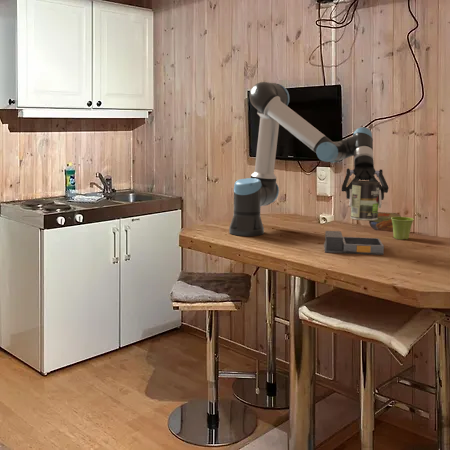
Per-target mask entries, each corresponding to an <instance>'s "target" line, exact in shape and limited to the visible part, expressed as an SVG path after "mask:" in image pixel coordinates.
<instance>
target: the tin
mask: <svg viewBox="0 0 450 450" xmlns="http://www.w3.org/2000/svg"><path fill="white" fill-rule="evenodd" d="M391 217H402V216H401V215H400V214H399V213H396V212H385V211H384V212H381V211H378V219H377V220H373V221H368V223H369V225H370V227H371V229H374V230H375V231H384V232H385V231H386V232H393V223H392V219H391Z"/></svg>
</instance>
